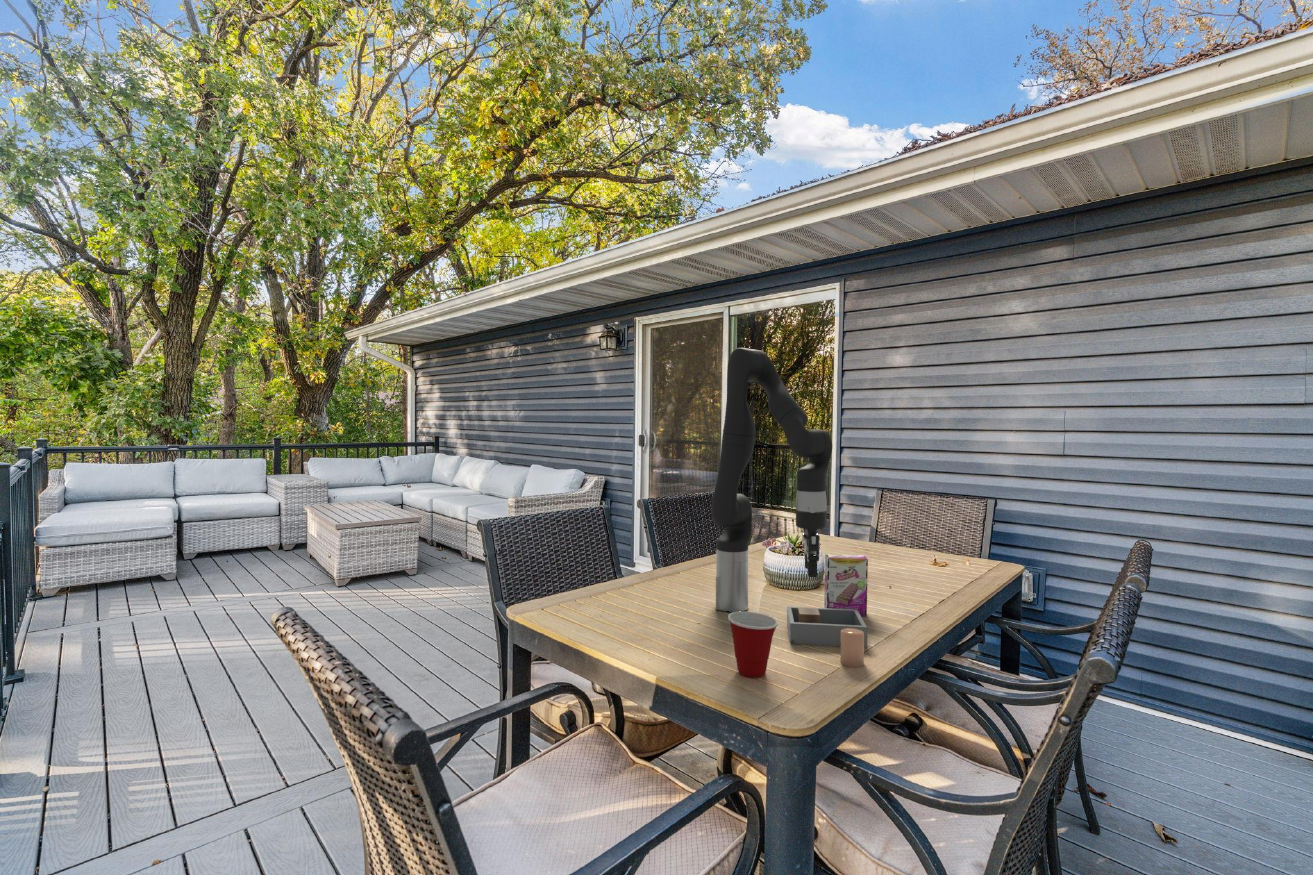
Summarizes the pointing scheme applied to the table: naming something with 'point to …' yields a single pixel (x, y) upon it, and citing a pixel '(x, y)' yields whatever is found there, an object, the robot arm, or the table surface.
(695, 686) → the table surface
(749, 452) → the robot arm
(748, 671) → the plastic cup
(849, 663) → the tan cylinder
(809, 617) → the walnut cube
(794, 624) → the gray tote
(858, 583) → the candy bar box
